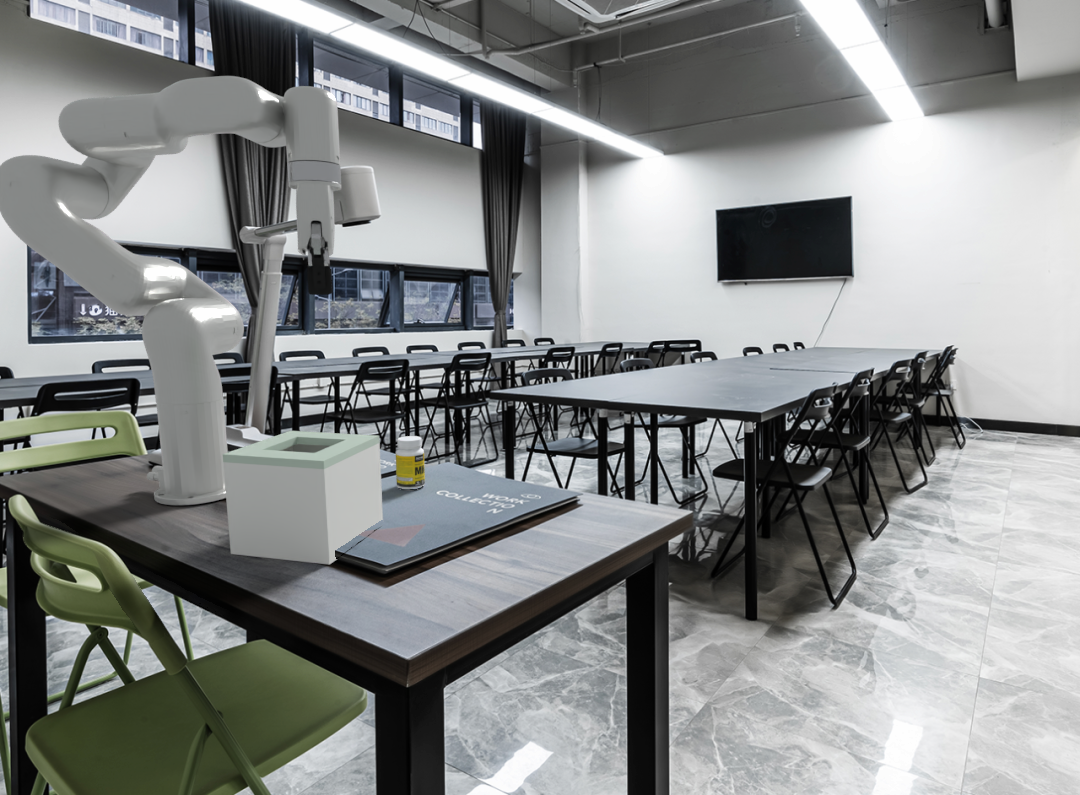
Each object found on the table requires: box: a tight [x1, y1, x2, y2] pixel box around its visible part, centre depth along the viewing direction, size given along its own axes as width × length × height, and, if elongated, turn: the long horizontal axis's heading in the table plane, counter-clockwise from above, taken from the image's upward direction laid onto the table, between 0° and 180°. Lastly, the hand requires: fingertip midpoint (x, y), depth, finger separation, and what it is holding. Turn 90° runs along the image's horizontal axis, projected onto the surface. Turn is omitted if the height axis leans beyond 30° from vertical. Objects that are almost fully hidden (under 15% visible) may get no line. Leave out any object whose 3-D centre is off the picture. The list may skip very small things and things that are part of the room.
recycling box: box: [223, 430, 384, 565], centre depth 89 cm, size 14×14×13 cm
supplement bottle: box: [395, 435, 426, 489], centre depth 112 cm, size 5×5×8 cm
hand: (321, 294), depth 102 cm, fingers open, 9 cm apart
